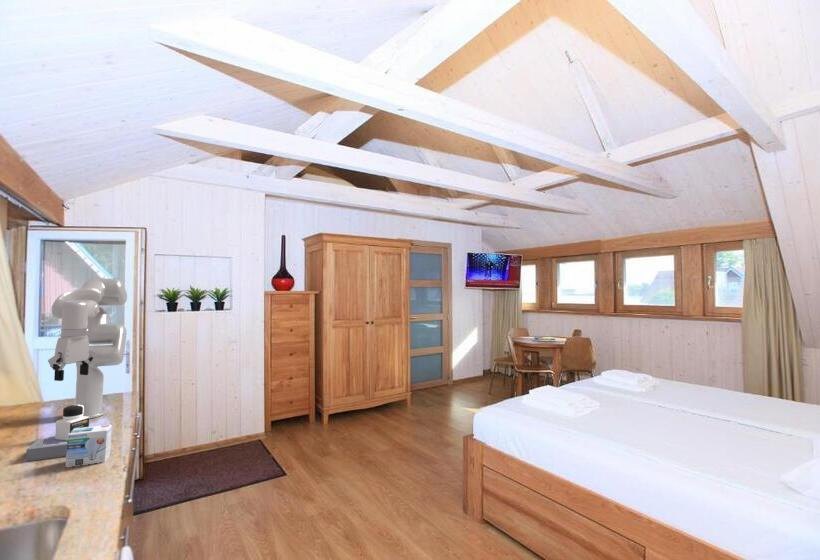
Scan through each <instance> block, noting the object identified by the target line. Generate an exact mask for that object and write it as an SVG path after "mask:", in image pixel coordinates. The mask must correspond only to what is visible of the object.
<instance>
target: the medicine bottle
mask: <svg viewBox="0 0 820 560" xmlns="http://www.w3.org/2000/svg"><path fill="white" fill-rule="evenodd" d="M62 411H63V412H62V418H61V419H58V420H56V422H55V436H54V438H55V440H58V441H59V440H60V441H65V442H67V438H68V434H69V433H70V432H71V431H72V430H73V429H74V428H83V427H90V426H89V425H90V419H89V417H87V416H83V413H84V406H83V405H75V404H72V405H67V406H65V407H64V408H63V409H62Z"/></svg>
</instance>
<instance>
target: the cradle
mask: <svg viewBox="0 0 820 560" xmlns="http://www.w3.org/2000/svg"><path fill="white" fill-rule="evenodd" d="M66 452H67V442H66V443H65V442H64V443H59V444H57V443H56V444H50V445H49V444H48V445H44V438H37V440H35V441H34V442H33V443H32V444H31V445H30V446H29V447H28V448H26V453H25V462H27V461H28V462H34V461H40V460H41V461H42V460H49V459H55V458H62V456H64V457H66ZM28 462H27V463H28Z"/></svg>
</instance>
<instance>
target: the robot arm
mask: <svg viewBox="0 0 820 560" xmlns="http://www.w3.org/2000/svg"><path fill="white" fill-rule="evenodd" d="M127 300H128V293H127V290H126V287H125V285H124V283H123V282H122V281H121V280H120V279H117V278H103V277H102V278H96V277H95V278H89V279H88V280H86V281H85V282H84V284H82V286H81V287H80V288H78V289H74V290H71V291H68V292H64V293H61V294H59V295H58V296H57V298H56V299H54V301H53V304H52V306H51V314H52V316H53V317H54V318H56V319H61V326H60V327H61V329H60V337H58V338H57V342H56V343H55V344H56V345H55V350H54V355H53V356H51V357H50V358H49V359H48V360H47V363H48V364H49V366H50V368H51V369H52V370H53V371H54V375H53V376H54V381H55V382H63V381H64V378H65V370H64V368H65V367H66V365H70V364H75V366H76V382H75V383H76V384H75V385H76V386H75V401H74V402H75V403H74V405H83V406H84V413H83V416H87V417H89V420H90V419H93V418H99V417H102V416H103V415H105V414H106V413H107V410H106V409H104V408H103V396H104V395H103V394H104V378H105V376H104V374H103V372H102V371H101V369H100V368H99V367H106V366H107V367H108V366H109V367H111V366H118V365H121V364H122V363H123V360H124V358H125V357H124V356H125V351H126V350H125V348H126V343H127V342H126V341H127V329H126V327H125V325H123V324H119V323H110V314H109V313H108V311H106V310H105V309H104V308H102V306H119V307H120V306H123V305H125V304H126V303H127Z"/></svg>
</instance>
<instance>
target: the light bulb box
mask: <svg viewBox="0 0 820 560" xmlns="http://www.w3.org/2000/svg"><path fill="white" fill-rule="evenodd" d="M112 428H113V426H112V424H110V423H109V424H105V425H94V426H89V427H83V428H74V429H73V430H72V431H71V432H70V433H69V434H68V438H67V441H66V443H67V452H66V456H65V466H64V467H67V468H72V466H75V467H81V466H80V465H82V466H87V465H88V464H90V465H94V463H97V464H101V463H100V462H104V463H106V462H107V460H108V459H109V457H110V456H111V445H112V444H111V442H112ZM109 455H110V456H109ZM107 458H108V459H107ZM105 461H106V462H105Z"/></svg>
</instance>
